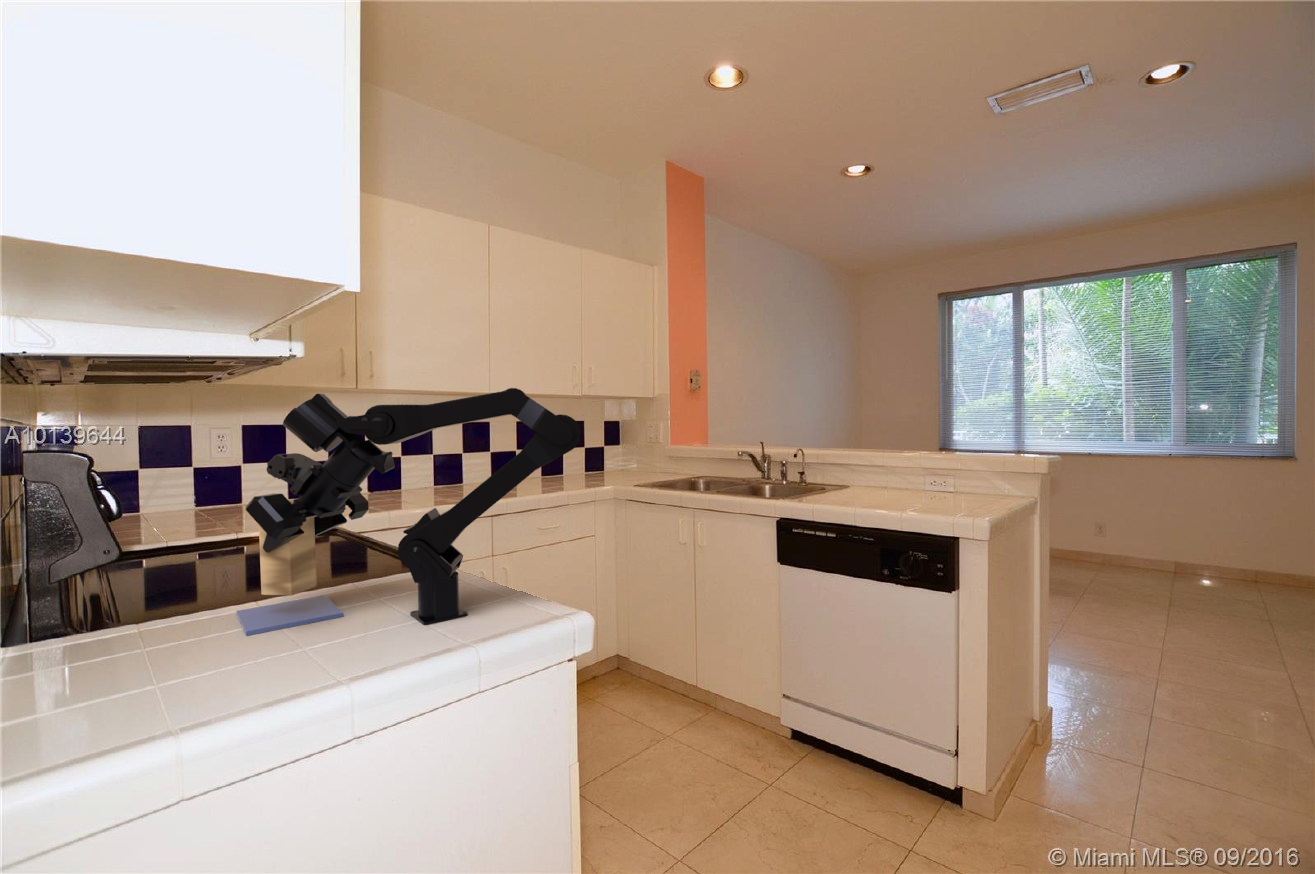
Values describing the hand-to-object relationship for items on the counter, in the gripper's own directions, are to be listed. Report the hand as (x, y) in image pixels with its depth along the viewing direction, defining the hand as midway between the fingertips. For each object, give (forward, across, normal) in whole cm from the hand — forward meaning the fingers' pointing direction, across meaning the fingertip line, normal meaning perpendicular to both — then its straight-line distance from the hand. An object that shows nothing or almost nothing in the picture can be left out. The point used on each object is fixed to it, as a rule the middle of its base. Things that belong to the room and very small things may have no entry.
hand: (279, 546), depth 90 cm
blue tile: (+6, 0, +8) cm, 10 cm away
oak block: (+4, 0, +6) cm, 7 cm away
